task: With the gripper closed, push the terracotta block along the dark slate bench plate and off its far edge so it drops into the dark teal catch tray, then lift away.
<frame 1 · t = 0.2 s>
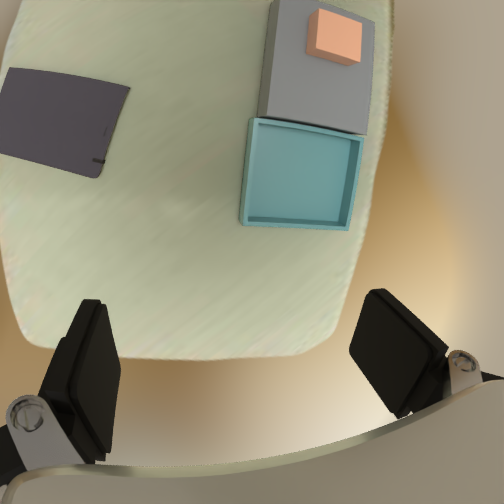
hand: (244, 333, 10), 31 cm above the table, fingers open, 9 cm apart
catch tray: (299, 174, 40), on the table
terracotta block: (329, 40, 28), point 5 cm above the table, touching slate bench plate
notebook: (51, 117, 29), on the table
slate bench plate: (311, 66, 34), on the table
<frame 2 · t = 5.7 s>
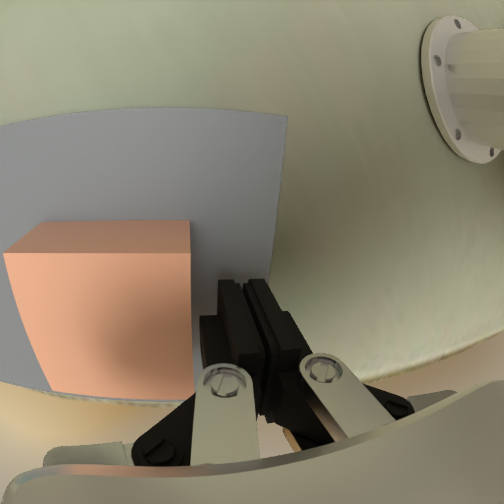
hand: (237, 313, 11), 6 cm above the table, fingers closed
terracotta block: (116, 292, 11), point 5 cm above the table, touching gripper
slate bench plate: (89, 246, 15), on the table
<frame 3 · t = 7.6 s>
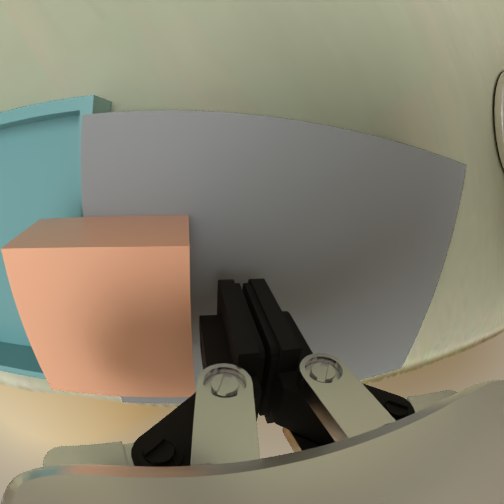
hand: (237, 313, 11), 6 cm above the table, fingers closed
catch tray: (15, 249, 13), on the table
terracotta block: (115, 289, 11), point 5 cm above the table, touching gripper
slate bench plate: (273, 248, 17), on the table
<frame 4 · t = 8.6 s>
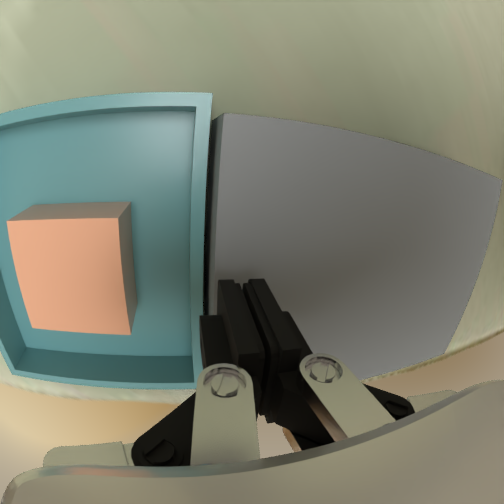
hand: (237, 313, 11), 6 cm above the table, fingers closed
catch tray: (81, 249, 14), on the table
terracotta block: (65, 281, 11), point 3 cm above the table, tilted 180°, touching catch tray
slate bench plate: (347, 249, 18), on the table
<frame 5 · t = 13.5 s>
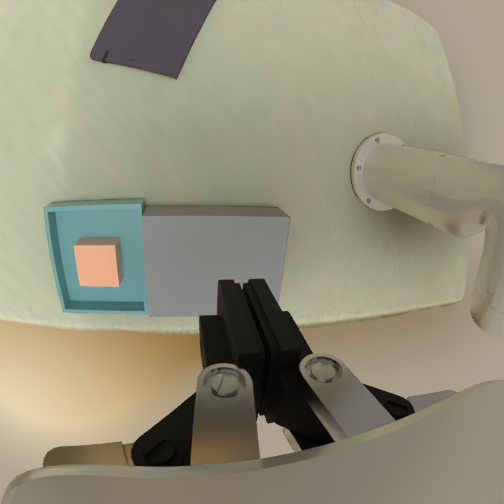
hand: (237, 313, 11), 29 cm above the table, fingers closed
catch tray: (100, 255, 37), on the table
terracotta block: (96, 266, 34), point 3 cm above the table, tilted 180°, touching catch tray
notebook: (164, 4, 26), on the table
slate bench plate: (211, 254, 41), on the table
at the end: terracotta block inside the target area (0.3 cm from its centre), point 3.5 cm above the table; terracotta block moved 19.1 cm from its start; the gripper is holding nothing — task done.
